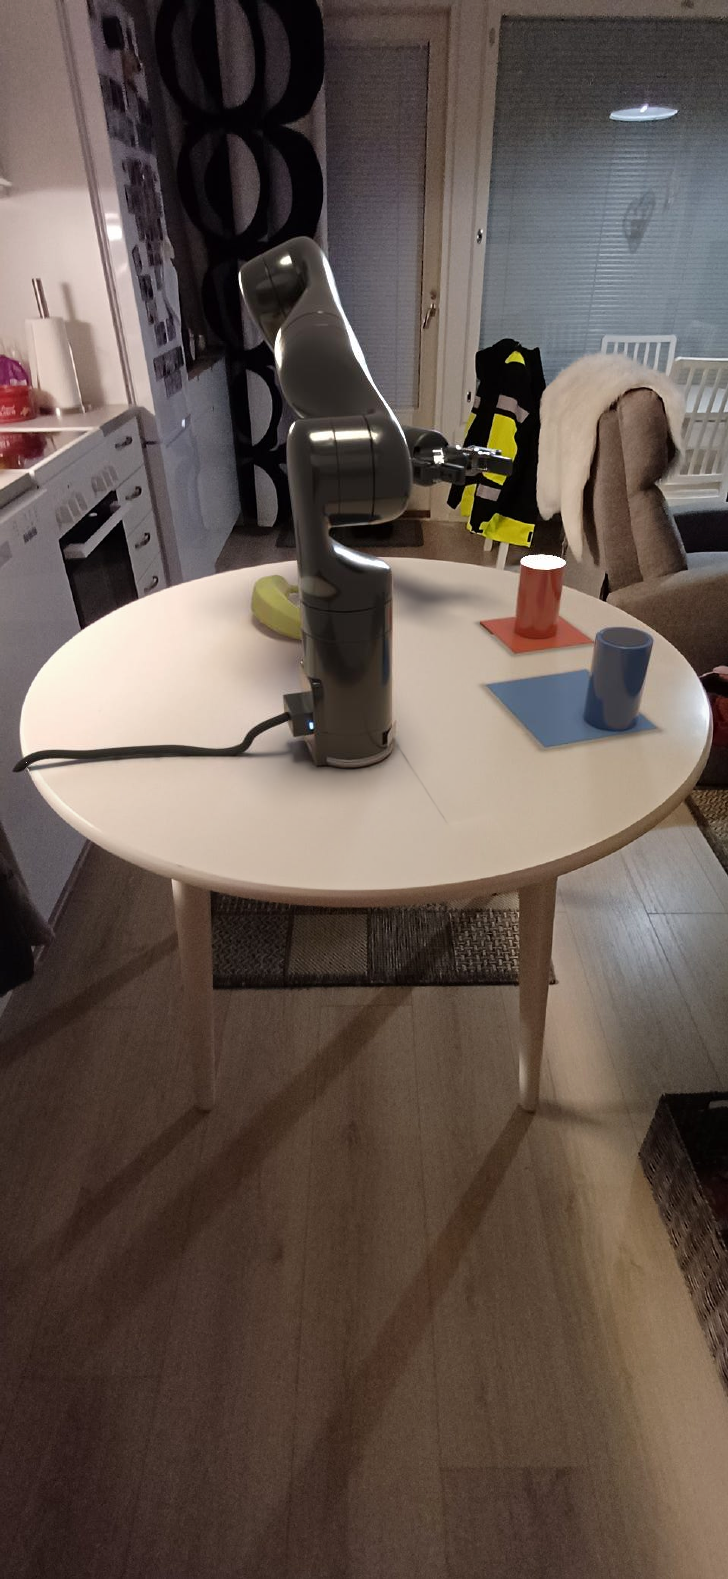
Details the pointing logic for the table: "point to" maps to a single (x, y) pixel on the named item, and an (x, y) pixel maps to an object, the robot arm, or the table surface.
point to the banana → (276, 606)
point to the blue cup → (617, 678)
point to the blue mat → (555, 708)
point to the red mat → (519, 644)
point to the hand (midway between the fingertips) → (487, 472)
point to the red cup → (539, 596)
